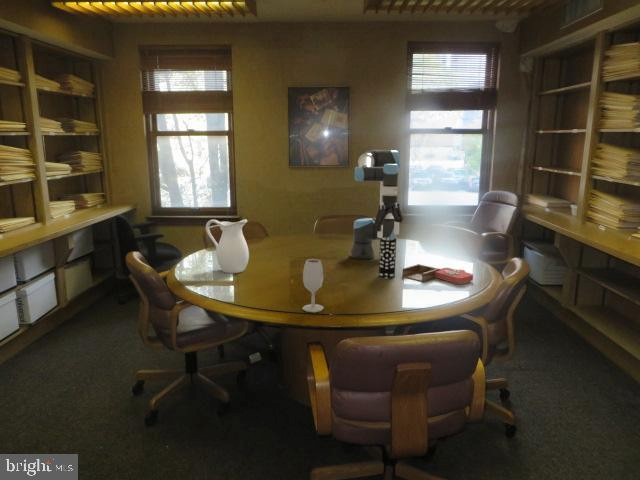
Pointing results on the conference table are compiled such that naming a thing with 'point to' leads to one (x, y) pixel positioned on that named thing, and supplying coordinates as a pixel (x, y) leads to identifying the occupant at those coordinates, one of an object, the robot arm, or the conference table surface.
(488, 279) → the conference table surface
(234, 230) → the pitcher
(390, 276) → the spotted tube
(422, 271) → the walnut tray
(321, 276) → the wineglass
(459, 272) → the plaque
